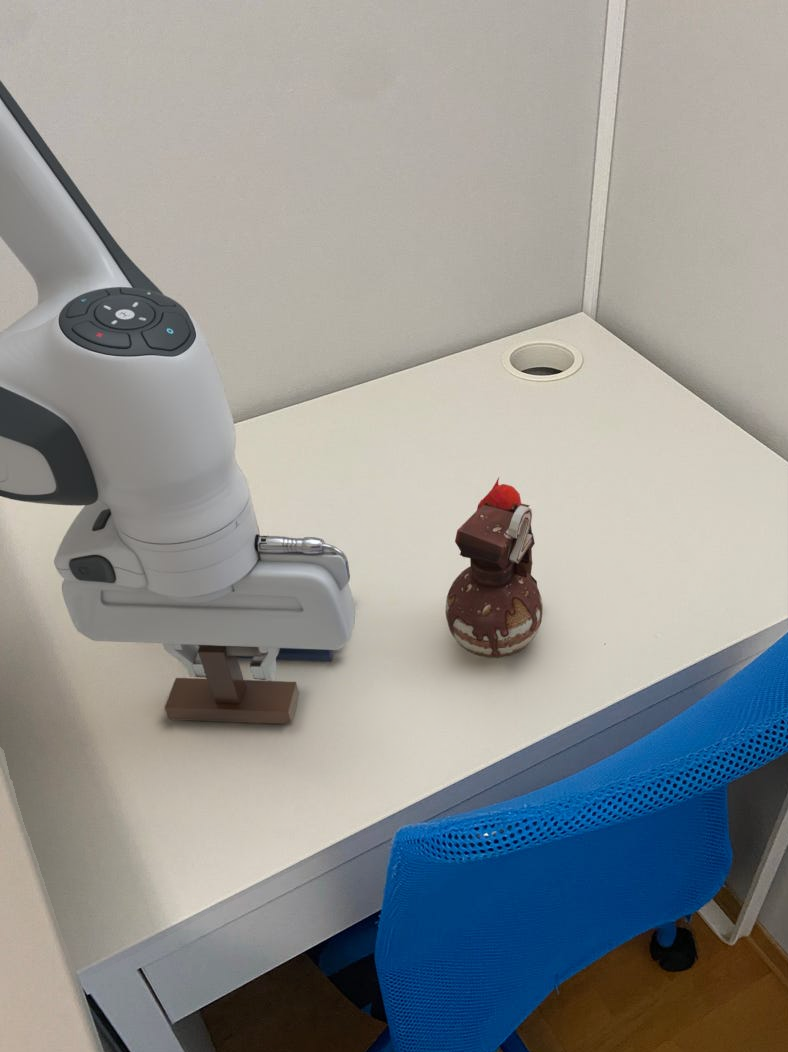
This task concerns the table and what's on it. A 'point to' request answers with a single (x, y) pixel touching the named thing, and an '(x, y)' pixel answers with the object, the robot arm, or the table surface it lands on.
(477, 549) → the grenade
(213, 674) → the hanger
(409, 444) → the table surface
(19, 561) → the table surface
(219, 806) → the table surface
